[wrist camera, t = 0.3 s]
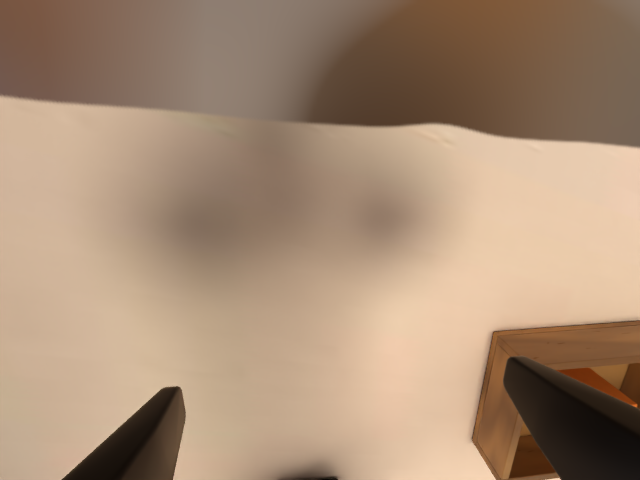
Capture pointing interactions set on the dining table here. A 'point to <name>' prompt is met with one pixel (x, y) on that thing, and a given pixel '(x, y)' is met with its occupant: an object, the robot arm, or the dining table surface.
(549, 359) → the wooden box
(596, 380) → the toy bear
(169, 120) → the dining table surface
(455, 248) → the dining table surface
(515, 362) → the robot arm
